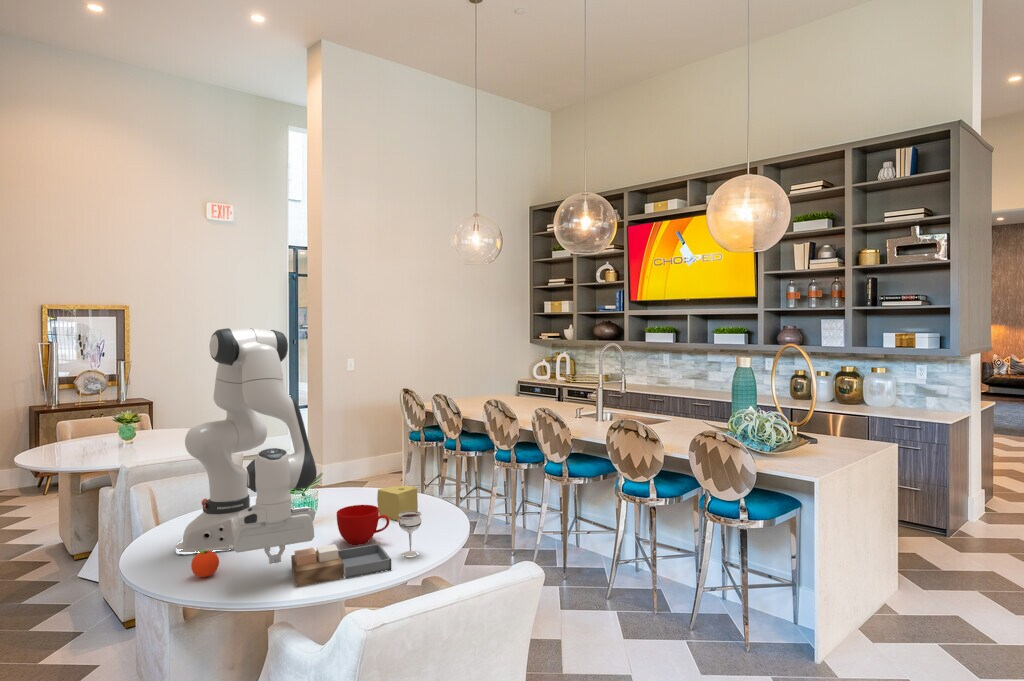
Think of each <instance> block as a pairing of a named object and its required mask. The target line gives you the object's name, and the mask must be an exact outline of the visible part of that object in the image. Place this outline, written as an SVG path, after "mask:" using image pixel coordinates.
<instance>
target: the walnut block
mask: <svg viewBox="0 0 1024 681" xmlns="http://www.w3.org/2000/svg"><path fill="white" fill-rule="evenodd" d="M315 552H316V563H312V564H306V565H300V566H297V565H296V562H295V554H291V555H290V556H291V560H290V561H291V571H292V575H294V576H293V579H294V581H295V584H296V587H297V588H298V587H304V586H309V584H310V585H314V584H319V583H320V584H321V583H325V582H331V581H335V579H336V580H340V578H342V579H344V578H345V575H344V563H343V561H342V560H341V558H340V556H339V554H338V559H335V560H329V561H323V562H319V560H318V558H317V550H315Z"/></svg>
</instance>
